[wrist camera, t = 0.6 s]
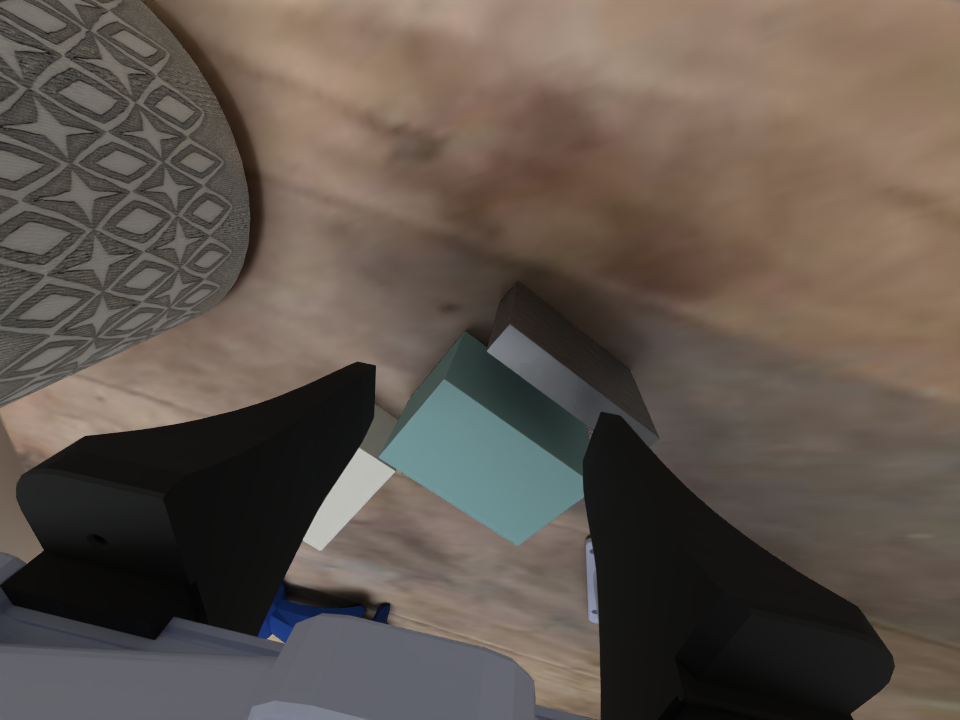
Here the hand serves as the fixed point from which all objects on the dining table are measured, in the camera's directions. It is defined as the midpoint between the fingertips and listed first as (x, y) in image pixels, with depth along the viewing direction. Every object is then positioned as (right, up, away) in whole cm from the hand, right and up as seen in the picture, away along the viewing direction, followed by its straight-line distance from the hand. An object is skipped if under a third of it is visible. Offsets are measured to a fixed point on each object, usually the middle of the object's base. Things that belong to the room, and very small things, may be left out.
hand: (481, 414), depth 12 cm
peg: (-9, -5, +15) cm, 18 cm away
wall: (+5, +3, +9) cm, 10 cm away
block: (+1, -1, +12) cm, 12 cm away
